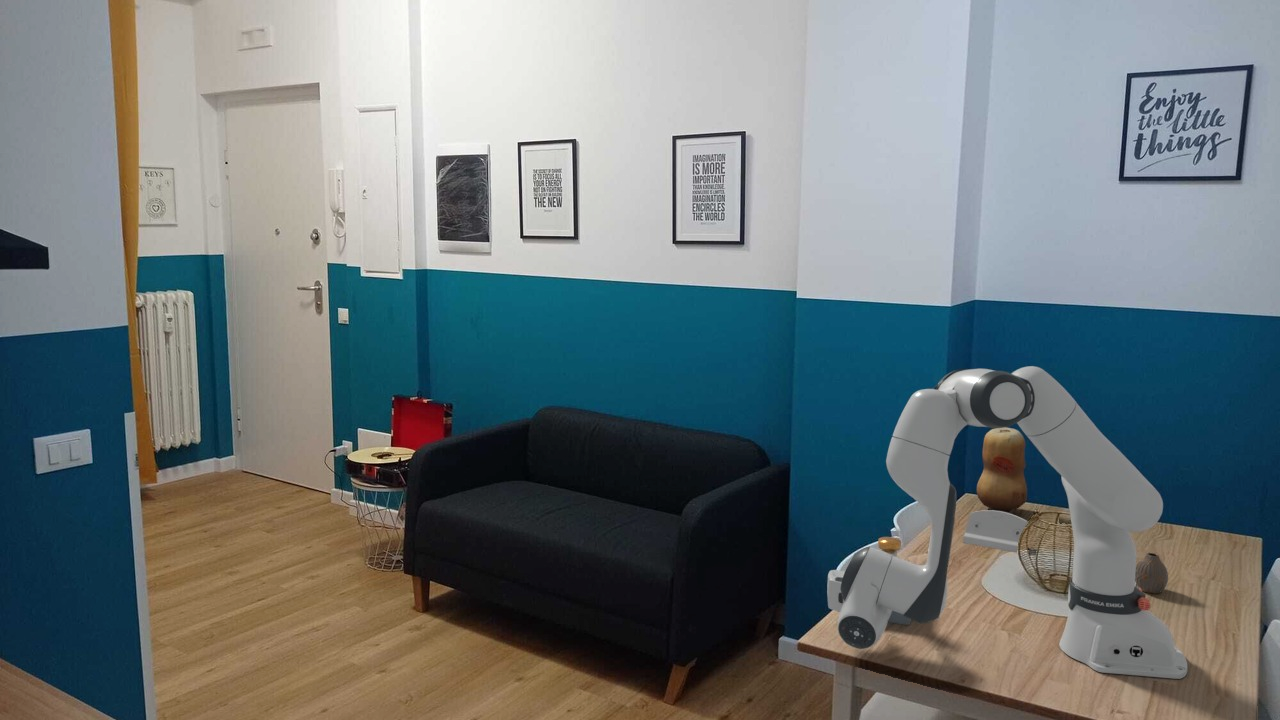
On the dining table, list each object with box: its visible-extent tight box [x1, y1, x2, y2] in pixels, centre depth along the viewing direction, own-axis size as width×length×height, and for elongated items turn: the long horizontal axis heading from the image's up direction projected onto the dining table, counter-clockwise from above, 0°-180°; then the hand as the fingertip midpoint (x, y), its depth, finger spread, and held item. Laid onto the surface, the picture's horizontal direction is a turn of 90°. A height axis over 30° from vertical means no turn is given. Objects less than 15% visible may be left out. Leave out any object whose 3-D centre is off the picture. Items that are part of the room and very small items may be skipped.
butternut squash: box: [976, 427, 1028, 513], centre depth 269 cm, size 14×13×25 cm
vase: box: [1135, 552, 1169, 595], centre depth 212 cm, size 7×7×9 cm
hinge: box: [962, 509, 1029, 554], centre depth 244 cm, size 17×5×10 cm, turn 55°
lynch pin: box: [877, 536, 902, 557], centre depth 202 cm, size 5×5×16 cm
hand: (882, 575), depth 195 cm, fingers open, 8 cm apart
